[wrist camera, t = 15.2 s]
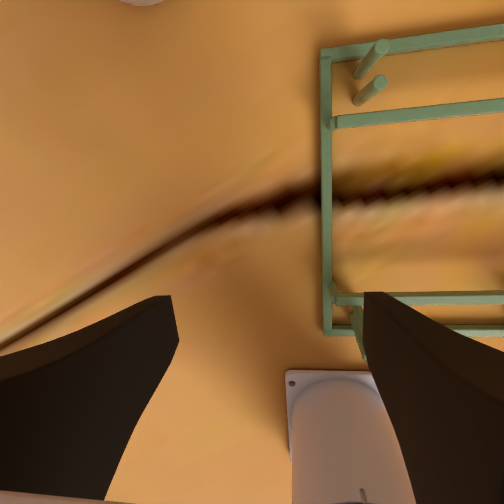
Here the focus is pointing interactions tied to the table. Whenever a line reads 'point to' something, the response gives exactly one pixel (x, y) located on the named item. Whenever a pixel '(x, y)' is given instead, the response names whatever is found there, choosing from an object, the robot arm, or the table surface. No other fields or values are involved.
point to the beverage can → (141, 2)
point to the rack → (371, 56)
